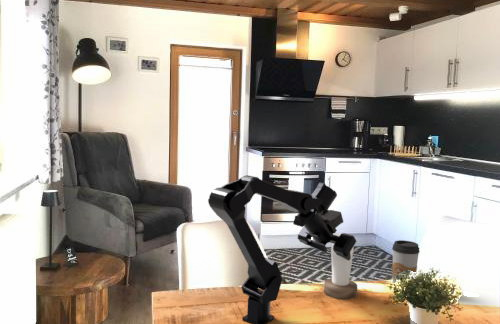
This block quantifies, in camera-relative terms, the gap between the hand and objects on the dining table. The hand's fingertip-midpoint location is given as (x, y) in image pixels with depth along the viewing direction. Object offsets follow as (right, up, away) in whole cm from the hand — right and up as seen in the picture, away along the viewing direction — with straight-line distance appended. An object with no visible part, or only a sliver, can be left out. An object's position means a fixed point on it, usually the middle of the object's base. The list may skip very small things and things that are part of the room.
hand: (337, 255), depth 139 cm
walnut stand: (+1, -12, +3) cm, 13 cm away
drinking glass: (+1, -10, +2) cm, 10 cm away
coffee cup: (+23, -13, +8) cm, 27 cm away
